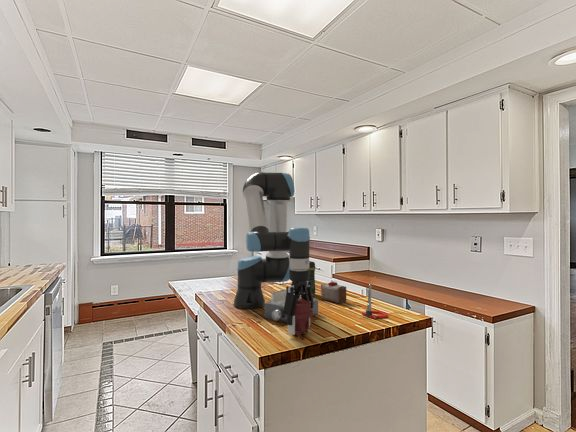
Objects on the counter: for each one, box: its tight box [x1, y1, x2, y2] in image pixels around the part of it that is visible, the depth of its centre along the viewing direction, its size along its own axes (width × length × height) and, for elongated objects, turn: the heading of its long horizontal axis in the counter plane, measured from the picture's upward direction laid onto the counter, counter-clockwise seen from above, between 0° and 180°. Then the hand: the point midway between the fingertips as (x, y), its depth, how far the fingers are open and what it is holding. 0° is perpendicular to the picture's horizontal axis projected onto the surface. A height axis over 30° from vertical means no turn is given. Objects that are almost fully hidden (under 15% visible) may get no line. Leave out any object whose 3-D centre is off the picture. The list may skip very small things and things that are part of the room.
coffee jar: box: [308, 260, 316, 295], centre depth 183 cm, size 10×8×19 cm
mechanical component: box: [286, 298, 314, 337], centre depth 121 cm, size 12×10×10 cm
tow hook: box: [361, 284, 388, 320], centre depth 142 cm, size 9×14×10 cm
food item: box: [320, 281, 347, 305], centre depth 168 cm, size 14×8×10 cm, turn 42°
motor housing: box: [264, 288, 319, 324], centre depth 141 cm, size 16×21×10 cm
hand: (299, 329), depth 121 cm, fingers closed on mechanical component, 10 cm apart
